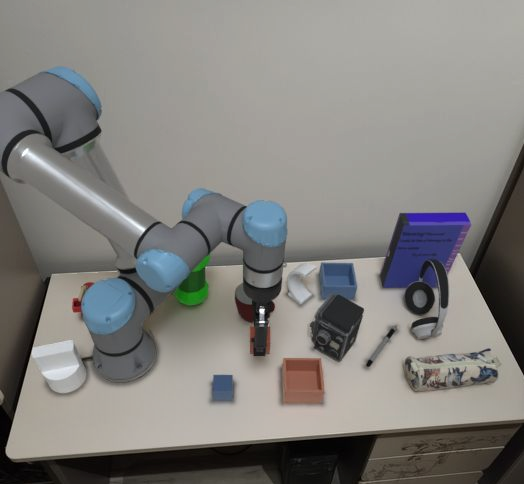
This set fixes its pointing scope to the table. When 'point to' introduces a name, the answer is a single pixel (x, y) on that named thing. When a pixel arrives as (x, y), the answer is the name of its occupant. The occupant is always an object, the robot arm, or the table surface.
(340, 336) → the camera
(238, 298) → the mug
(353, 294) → the blue bin
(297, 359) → the clay bin
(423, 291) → the headphones
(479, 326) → the table surface
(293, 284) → the headphone stand
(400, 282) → the blue book
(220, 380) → the blue block
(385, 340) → the pen
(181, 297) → the plastic bottle
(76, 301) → the toy fire truck
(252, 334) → the terracotta block
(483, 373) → the pencil case
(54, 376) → the base with upright slab
